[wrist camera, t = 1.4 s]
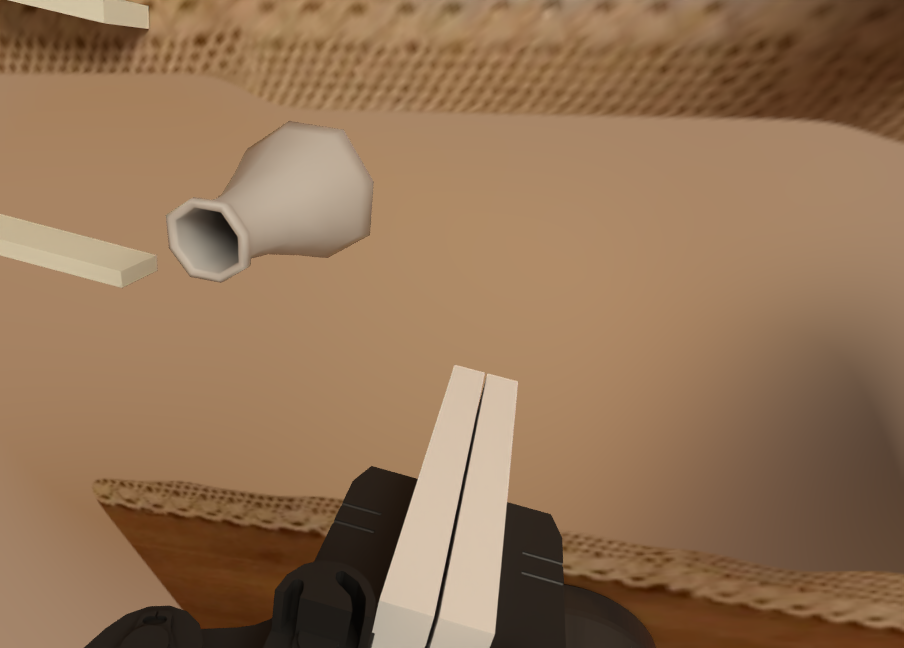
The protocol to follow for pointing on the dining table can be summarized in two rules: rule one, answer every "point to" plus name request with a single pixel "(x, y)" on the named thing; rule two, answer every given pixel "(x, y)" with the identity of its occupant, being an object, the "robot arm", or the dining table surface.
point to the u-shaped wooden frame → (66, 248)
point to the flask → (277, 204)
